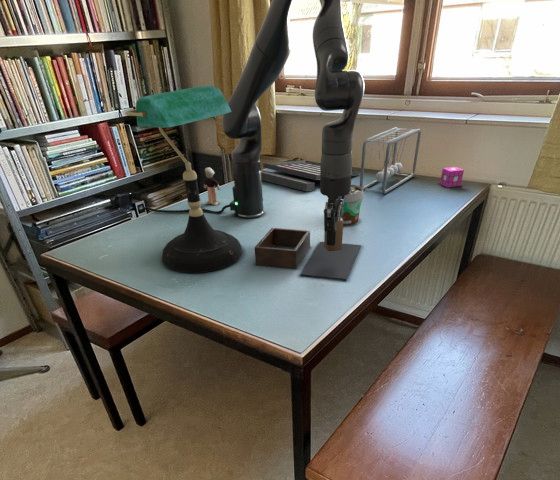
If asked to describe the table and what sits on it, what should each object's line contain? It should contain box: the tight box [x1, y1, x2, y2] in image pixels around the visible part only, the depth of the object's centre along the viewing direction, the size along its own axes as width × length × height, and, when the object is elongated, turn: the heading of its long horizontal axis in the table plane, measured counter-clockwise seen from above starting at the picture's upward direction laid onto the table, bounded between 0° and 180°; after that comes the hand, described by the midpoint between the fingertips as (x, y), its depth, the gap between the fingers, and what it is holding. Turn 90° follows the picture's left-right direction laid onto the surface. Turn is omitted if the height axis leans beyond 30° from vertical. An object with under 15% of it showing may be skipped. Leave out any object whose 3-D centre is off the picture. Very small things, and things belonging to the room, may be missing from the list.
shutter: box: [261, 159, 360, 192], centre depth 181 cm, size 32×7×31 cm
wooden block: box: [323, 217, 344, 252], centre depth 111 cm, size 4×4×8 cm
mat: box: [299, 241, 362, 282], centre depth 115 cm, size 12×22×1 cm, turn 162°
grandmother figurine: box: [203, 167, 221, 206], centre depth 154 cm, size 8×4×13 cm, turn 68°
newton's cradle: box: [359, 126, 422, 195], centre depth 163 cm, size 30×10×18 cm, turn 144°
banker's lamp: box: [125, 85, 243, 274], centre depth 109 cm, size 26×23×40 cm
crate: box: [254, 227, 311, 270], centre depth 117 cm, size 12×15×5 cm
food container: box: [341, 183, 365, 227], centre depth 135 cm, size 12×6×10 cm, turn 168°
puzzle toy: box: [439, 166, 465, 188], centre depth 163 cm, size 6×6×6 cm
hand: (333, 240), depth 112 cm, fingers closed on wooden block, 5 cm apart
